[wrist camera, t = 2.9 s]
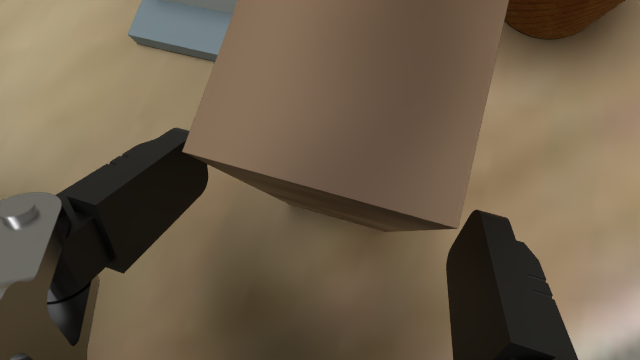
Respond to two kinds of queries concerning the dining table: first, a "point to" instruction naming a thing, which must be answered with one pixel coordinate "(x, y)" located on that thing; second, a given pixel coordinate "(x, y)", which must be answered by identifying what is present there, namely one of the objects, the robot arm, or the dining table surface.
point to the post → (353, 105)
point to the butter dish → (183, 25)
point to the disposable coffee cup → (555, 16)
